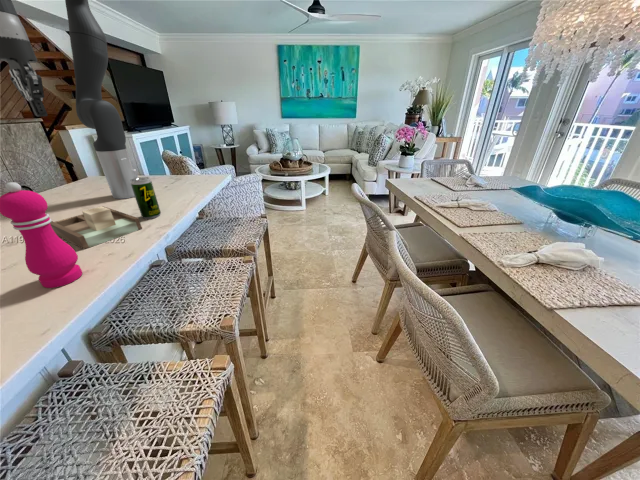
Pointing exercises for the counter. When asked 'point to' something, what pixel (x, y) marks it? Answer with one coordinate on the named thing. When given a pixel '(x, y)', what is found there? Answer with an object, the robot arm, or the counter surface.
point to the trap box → (88, 237)
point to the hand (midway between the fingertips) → (42, 116)
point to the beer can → (145, 197)
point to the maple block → (99, 218)
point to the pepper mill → (40, 237)
